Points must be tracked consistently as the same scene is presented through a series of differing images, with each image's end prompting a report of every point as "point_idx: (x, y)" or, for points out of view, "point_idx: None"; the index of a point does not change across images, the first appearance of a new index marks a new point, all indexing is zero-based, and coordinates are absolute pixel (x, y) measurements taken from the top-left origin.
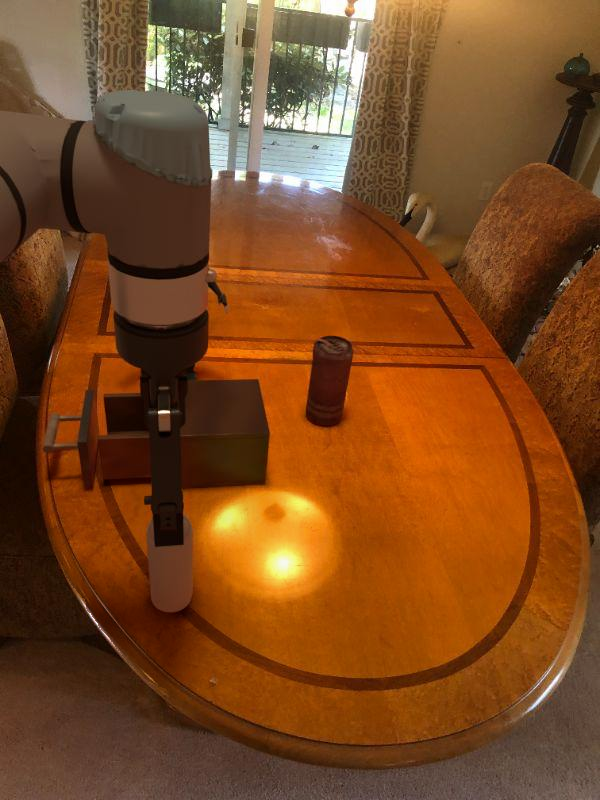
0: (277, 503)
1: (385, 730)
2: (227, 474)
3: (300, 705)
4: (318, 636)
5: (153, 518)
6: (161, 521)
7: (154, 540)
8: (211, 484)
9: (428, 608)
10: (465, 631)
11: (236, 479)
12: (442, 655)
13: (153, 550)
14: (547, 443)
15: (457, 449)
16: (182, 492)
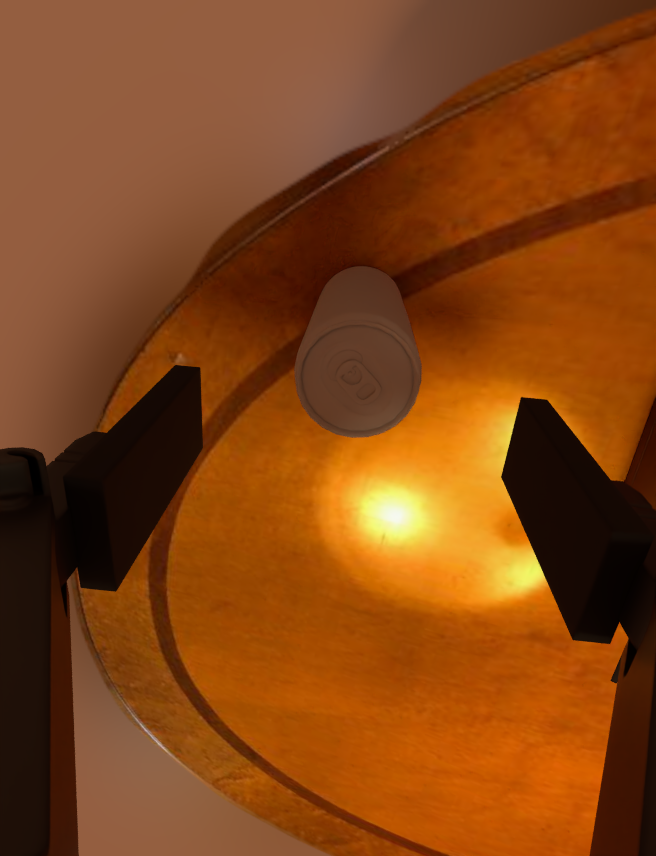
0: None
1: None
2: (650, 478)
3: None
4: (240, 528)
5: (120, 421)
6: (59, 460)
7: (166, 376)
8: (648, 431)
9: (265, 672)
10: (224, 695)
11: (634, 487)
12: (192, 659)
13: (316, 323)
14: None
15: (563, 820)
16: (105, 589)
